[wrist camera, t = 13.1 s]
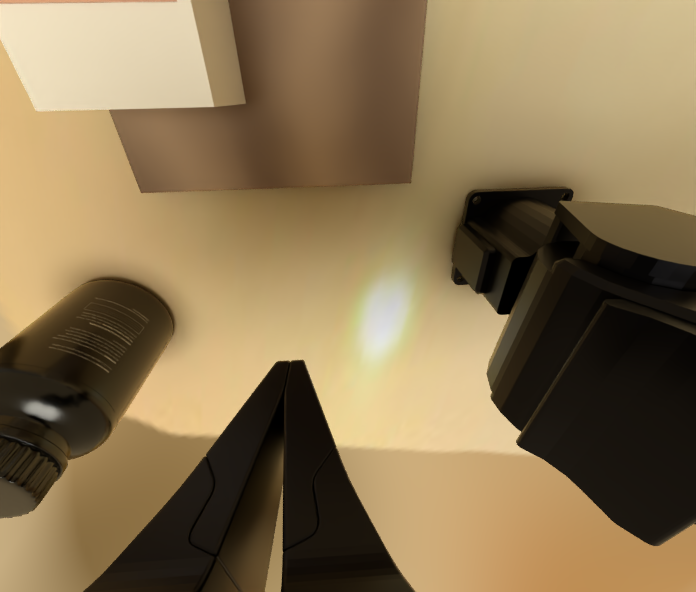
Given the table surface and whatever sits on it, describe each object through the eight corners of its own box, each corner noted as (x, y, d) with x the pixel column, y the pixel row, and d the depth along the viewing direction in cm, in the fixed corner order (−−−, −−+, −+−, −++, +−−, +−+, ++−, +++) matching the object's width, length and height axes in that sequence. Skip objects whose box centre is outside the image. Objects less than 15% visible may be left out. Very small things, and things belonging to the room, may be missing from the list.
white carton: (213, -84, 12) (147, -189, 7) (245, 103, 15) (213, 107, 11) (49, -84, 11) (-118, -192, 7) (119, 106, 15) (33, 111, 10)
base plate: (441, -247, 10) (451, -277, 10) (407, 179, 18) (410, 183, 17) (-13, -254, 10) (-44, -286, 9) (149, 188, 18) (141, 193, 17)
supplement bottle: (49, 290, 21) (-205, 470, 11) (138, 264, 20) (-46, 430, 10) (117, 359, 25) (-27, 540, 15) (194, 339, 24) (99, 514, 14)
